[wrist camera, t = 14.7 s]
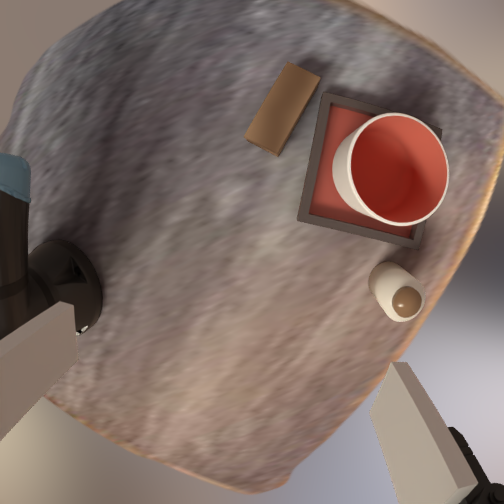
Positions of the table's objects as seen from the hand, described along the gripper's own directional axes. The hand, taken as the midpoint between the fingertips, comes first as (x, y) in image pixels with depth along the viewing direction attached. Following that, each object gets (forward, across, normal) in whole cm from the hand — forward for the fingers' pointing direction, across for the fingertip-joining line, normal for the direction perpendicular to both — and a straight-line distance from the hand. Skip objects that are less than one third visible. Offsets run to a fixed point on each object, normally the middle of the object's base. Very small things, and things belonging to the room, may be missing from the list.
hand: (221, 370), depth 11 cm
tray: (+26, +12, +10) cm, 31 cm away
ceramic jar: (+26, +17, -2) cm, 31 cm away
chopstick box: (+27, +1, +16) cm, 31 cm away
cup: (+26, +12, +10) cm, 30 cm away
